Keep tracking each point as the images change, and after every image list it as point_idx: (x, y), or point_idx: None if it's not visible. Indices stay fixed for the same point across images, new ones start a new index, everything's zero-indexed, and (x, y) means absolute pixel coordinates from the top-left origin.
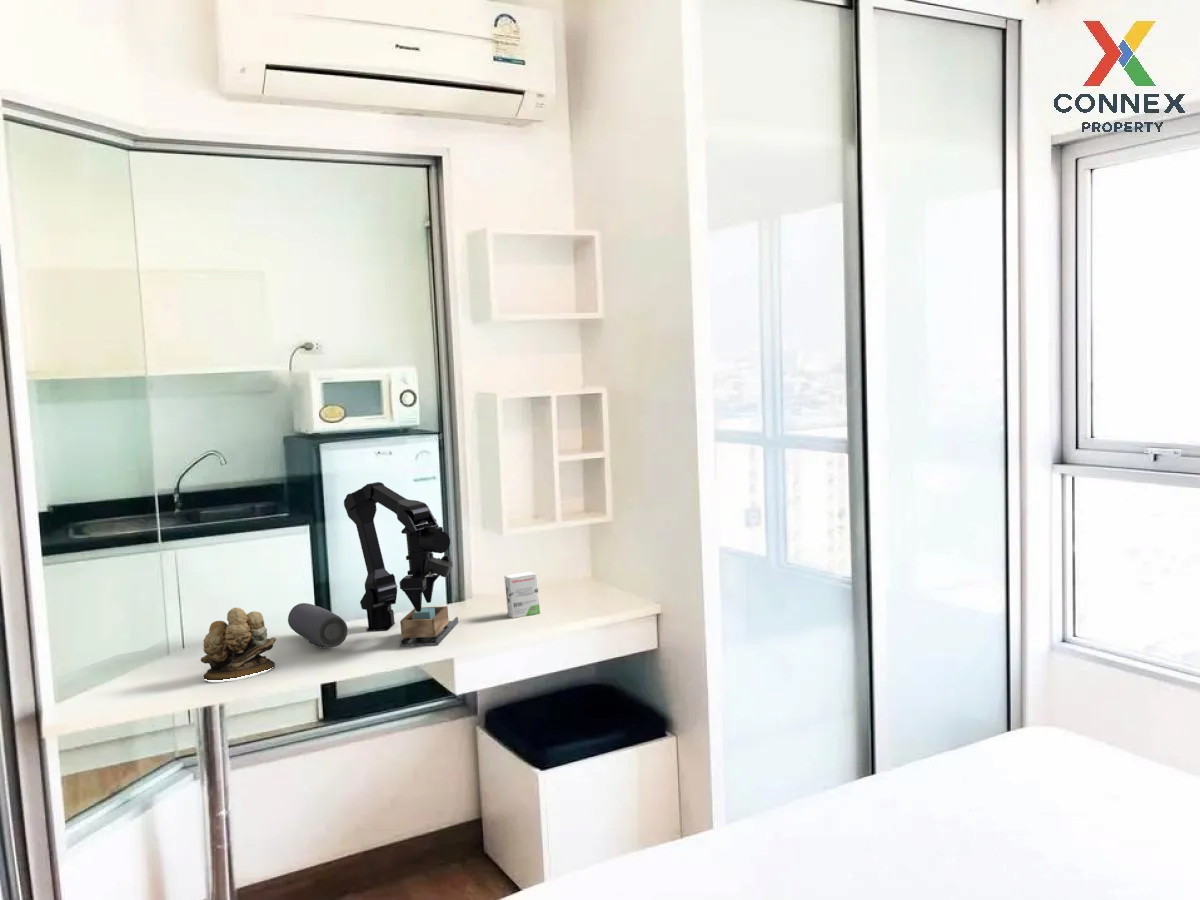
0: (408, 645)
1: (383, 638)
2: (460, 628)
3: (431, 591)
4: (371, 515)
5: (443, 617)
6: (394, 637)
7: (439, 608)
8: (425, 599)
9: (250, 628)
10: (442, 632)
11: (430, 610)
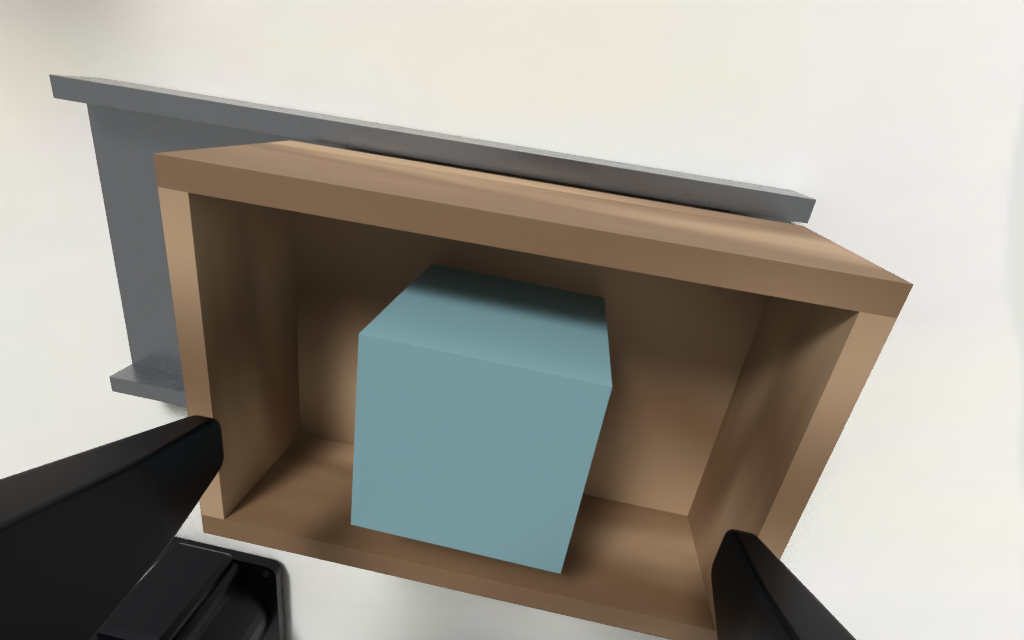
0: None
1: None
2: (282, 27)
3: (28, 521)
4: None
5: (430, 181)
6: None
7: (208, 264)
8: (188, 512)
9: None
10: (576, 175)
11: (516, 379)
